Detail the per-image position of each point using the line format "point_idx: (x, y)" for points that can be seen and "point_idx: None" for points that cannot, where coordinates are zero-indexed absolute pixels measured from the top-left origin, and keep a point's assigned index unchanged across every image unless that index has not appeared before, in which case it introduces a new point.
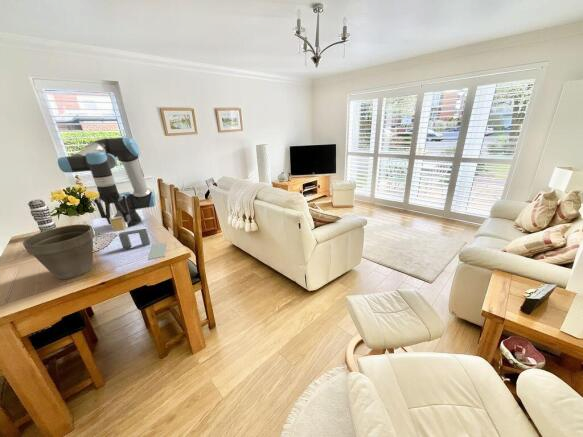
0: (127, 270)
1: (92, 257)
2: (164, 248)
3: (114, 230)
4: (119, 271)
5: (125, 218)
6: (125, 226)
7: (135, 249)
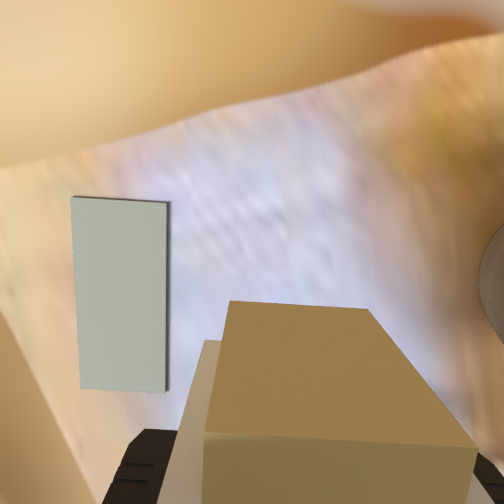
0: (278, 121)
1: (501, 294)
2: (84, 309)
3: (366, 315)
4: (323, 133)
5: (129, 498)
6: (207, 358)
7: None
